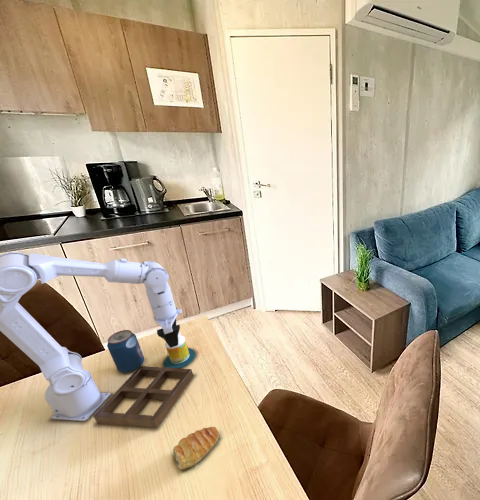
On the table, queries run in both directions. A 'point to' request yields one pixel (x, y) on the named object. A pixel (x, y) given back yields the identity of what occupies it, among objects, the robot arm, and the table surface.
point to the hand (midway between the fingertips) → (173, 338)
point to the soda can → (125, 351)
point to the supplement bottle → (178, 351)
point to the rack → (144, 397)
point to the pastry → (195, 446)
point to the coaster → (191, 357)
